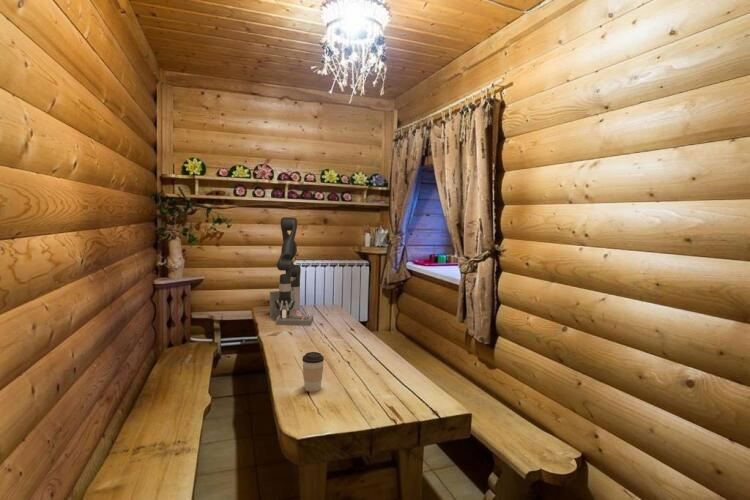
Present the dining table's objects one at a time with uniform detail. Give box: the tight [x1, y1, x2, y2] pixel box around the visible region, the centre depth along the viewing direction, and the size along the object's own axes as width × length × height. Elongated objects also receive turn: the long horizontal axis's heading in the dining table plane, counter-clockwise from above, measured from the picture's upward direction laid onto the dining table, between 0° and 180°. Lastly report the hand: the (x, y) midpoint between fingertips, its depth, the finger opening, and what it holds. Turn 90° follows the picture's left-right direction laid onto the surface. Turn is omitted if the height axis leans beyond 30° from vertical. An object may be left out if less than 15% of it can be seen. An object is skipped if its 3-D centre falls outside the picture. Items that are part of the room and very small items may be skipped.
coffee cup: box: [301, 351, 325, 393], centre depth 174 cm, size 9×9×15 cm
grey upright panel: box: [269, 290, 294, 318], centre depth 290 cm, size 16×4×20 cm, turn 109°
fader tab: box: [282, 309, 287, 318], centre depth 274 cm, size 5×2×5 cm, turn 0°
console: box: [276, 313, 314, 327], centre depth 275 cm, size 12×22×4 cm, turn 90°
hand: (284, 315), depth 274 cm, fingers open, 3 cm apart
